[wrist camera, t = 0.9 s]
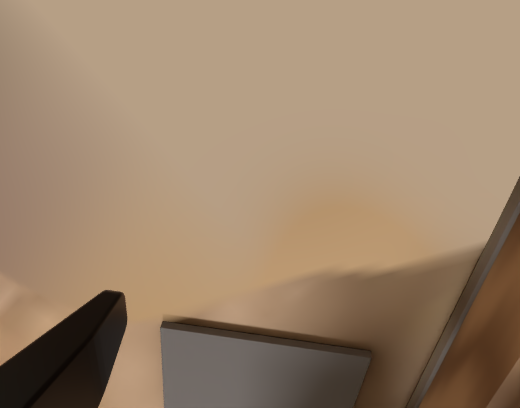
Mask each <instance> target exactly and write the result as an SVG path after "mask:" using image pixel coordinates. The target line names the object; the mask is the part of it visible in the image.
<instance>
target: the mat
mask: <svg viewBox="0 0 520 408" xmlns="http://www.w3.org/2000/svg"><path fill="white" fill-rule="evenodd" d="M160 332H161V352H162V372H163V393H164V408H353V407H354V404H355V401H356V398H357V396H358V393H359V390H360V388H361V385H362V382H363V380H364V377H365V374H366V372H367V369H368V366H369V364H370V361H371V351H367V350H360V349H353V348H346V347H339V346H332V345H325V344H318V343H311V342H304V341H297V340H291V339H284V338H277V337H270V336H263V335H256V334H249V333H242V332H235V331H228V330H221V329H214V328H207V327H200V326H193V325H186V324H179V323H172V322H165V321H163V322H162V324H161V327H160Z"/></svg>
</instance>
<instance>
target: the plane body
mask: <svg viewBox="0 0 520 408" xmlns="http://www.w3.org/2000/svg"><path fill="white" fill-rule="evenodd" d="M406 408H520V177H519V179H518V182H517V183H516V185H515V187H514V189H513V192H512V194H511V196H510V198H509V200H508V202H507V204H506V206H505V208H504V210H503V212H502V214H501V216H500V218H499V220H498V222H497V224H496V226H495V228H494V230H493V232H492V234H491V236H490V238H489V240H488V242H487V244H486V246H485V248H484V250H483V252H482V255H481V257H480V259H479V261H478V263H477V265H476V267H475V269H474V271H473V273H472V275H471V277H470V279H469V281H468V283H467V285H466V287H465V289H464V291H463V293H462V295H461V297H460V299H459V301H458V303H457V305H456V307H455V309H454V311H453V313H452V316H451V318H450V320H449V322H448V324H447V326H446V328H445V330H444V332H443V334H442V336H441V338H440V340H439V342H438V344H437V346H436V348H435V350H434V352H433V354H432V356H431V358H430V360H429V362H428V364H427V366H426V368H425V370H424V372H423V374H422V377H421V379H420V381H419V383H418V385H417V387H416V389H415V391H414V393H413V395H412V397H411V399H410V401H409V403H408V405H407V407H406Z"/></svg>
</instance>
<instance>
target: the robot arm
mask: <svg viewBox="0 0 520 408" xmlns="http://www.w3.org/2000/svg"><path fill="white" fill-rule="evenodd" d="M126 325H127V311H126V302H125V296H124V294H123V293H122V292H118V291H111V290H105V291H102V292H101V293H100V294H98V295H97V296H96V297H94V298H93V299H92V300H90V301H89V302H87V303H86V304H84V305H83V306H82V307H80V308H79V309H78V310H76V311H75V312H74V313H72V314H71V315H69V316H68V317H67V318H65V319H64V320H63V321H61V322H60V323H58V324H57V325H56V326H54V327H53V328H52V329H50V330H49V331H47V332H46V333H45V334H43V335H42V336H41V337H39V338H38V339H36V340H35V341H34V342H32V343H31V344H30V345H28V346H27V347H26V348H24V349H23V350H21V351H20V352H19V353H17V354H16V355H15V356H13V357H12V358H10V359H9V360H8V361H6V362H5V363H4V364H2V365H1V366H0V408H98V406H99V404H100V402H101V399H102V397H103V395H104V392H105V389H106V386H107V383H108V380H109V377H110V374H111V371H112V368H113V365H114V362H115V359H116V356H117V353H118V350H119V347H120V344H121V341H122V338H123V335H124V332H125V329H126Z"/></svg>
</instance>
